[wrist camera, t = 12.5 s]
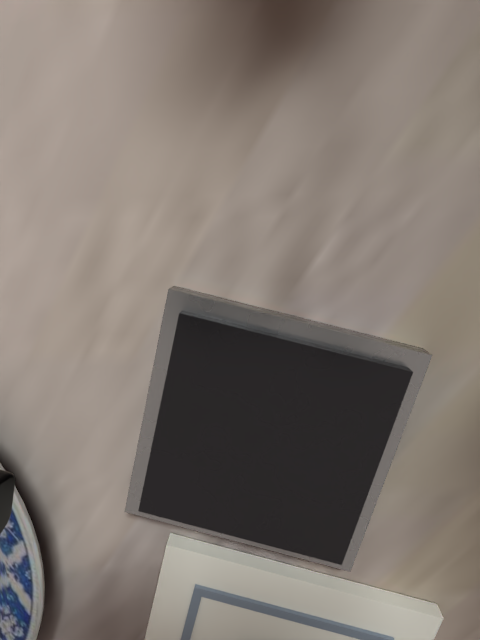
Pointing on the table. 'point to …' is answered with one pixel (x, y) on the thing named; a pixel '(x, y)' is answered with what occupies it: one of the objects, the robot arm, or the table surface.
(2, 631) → the ceramic plate
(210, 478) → the ink pad
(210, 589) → the white flat square panel
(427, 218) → the table surface
